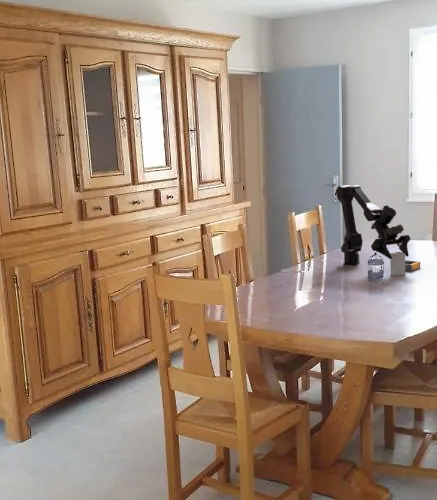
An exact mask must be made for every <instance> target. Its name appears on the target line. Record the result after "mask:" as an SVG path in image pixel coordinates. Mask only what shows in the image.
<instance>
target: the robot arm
mask: <svg viewBox="0 0 437 500" xmlns="http://www.w3.org/2000/svg"><path fill="white" fill-rule="evenodd" d="M335 195H336V199H337V201H338V202H339V203H340V204H341V208H342V209H341V210H342V214H343V220H344V226H345V232H346V233H345V235H344V237H343V240H344V242H343V244H342V245H341V246H340V250H341V252H342V253H343V254H344V255H343V256H344V257H343V259H344V260H343V261H344V262H343V263H342V265H348V266H349V265H350V266H351V265H352V266H356V265H358V264H360V263H361V262H360V254H359V252H361V251H362V247H363V236H362V234H361V233H359V232H358V231H357V225H356V221H355V214H354V209H353V208H354V206H353V200H354V199H355V201H356V202H357V204H359V206H360V207H361V208H362V210H363V216H364V217H365V219H366V221H368V222H373V223H372V224H371V227H370V229H371V230H375V232H376V233H377V234H378V236H377V238H375V239H374V240H373V242H372V243H371V246H370V248H371V250H372V251H373V252H376V253H378V254H380V255H383V256H384V257H385V258H388V259H389V260H390V259H392V256H391V254H390V253H391V252H390V250H389V249H388V247H387V246H390V245H392V246H393V245H396V246H397V247H398V249H399V250H400V252H402V253H405V257H409V249H408V243H409V242H410V240H411V239H412V238H411V237H410V235H409V234H403V235H400V236H399V234H402V232H404V230H405V229H404V226H403V225H402V224H397V225H396V226H395V225H394V226H391V227H390V226H389V224H391V222H392V221H393V219H394V218H395V217H396V215H397V211H396V210H395V209H394V208H392V207H390V206H389V205H383V207H382V209H381V208H380V207H379V206H378V205H377V204H374V203H372V202H371V200H370V199H369V197H368V196H367V194H365V193H364V191H363V190H362V187H361V186H360V185H358V184H357V185H351V184H350V185H349V184H347V185H346V184H345V185H338V186H337V188H336V189H335ZM398 237H399V238H398Z"/></svg>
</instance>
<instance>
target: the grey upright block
mask: <svg viewBox="0 0 437 500" xmlns="http://www.w3.org/2000/svg"><path fill="white" fill-rule="evenodd" d="M390 254H391V256H392V259H389V261H390V263H389V264H390V275H391V276H392V277H400V276H401V277H402V276H405V275H406V271H405V260H406V255H405V253H403V252H402V251H396V252H390Z"/></svg>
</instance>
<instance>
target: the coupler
mask: <svg viewBox="0 0 437 500" xmlns="http://www.w3.org/2000/svg"><path fill="white" fill-rule="evenodd" d="M419 269H421V261H419V260H418V261H416V260H406V259H405V272H413V271H417V270H419Z"/></svg>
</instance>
